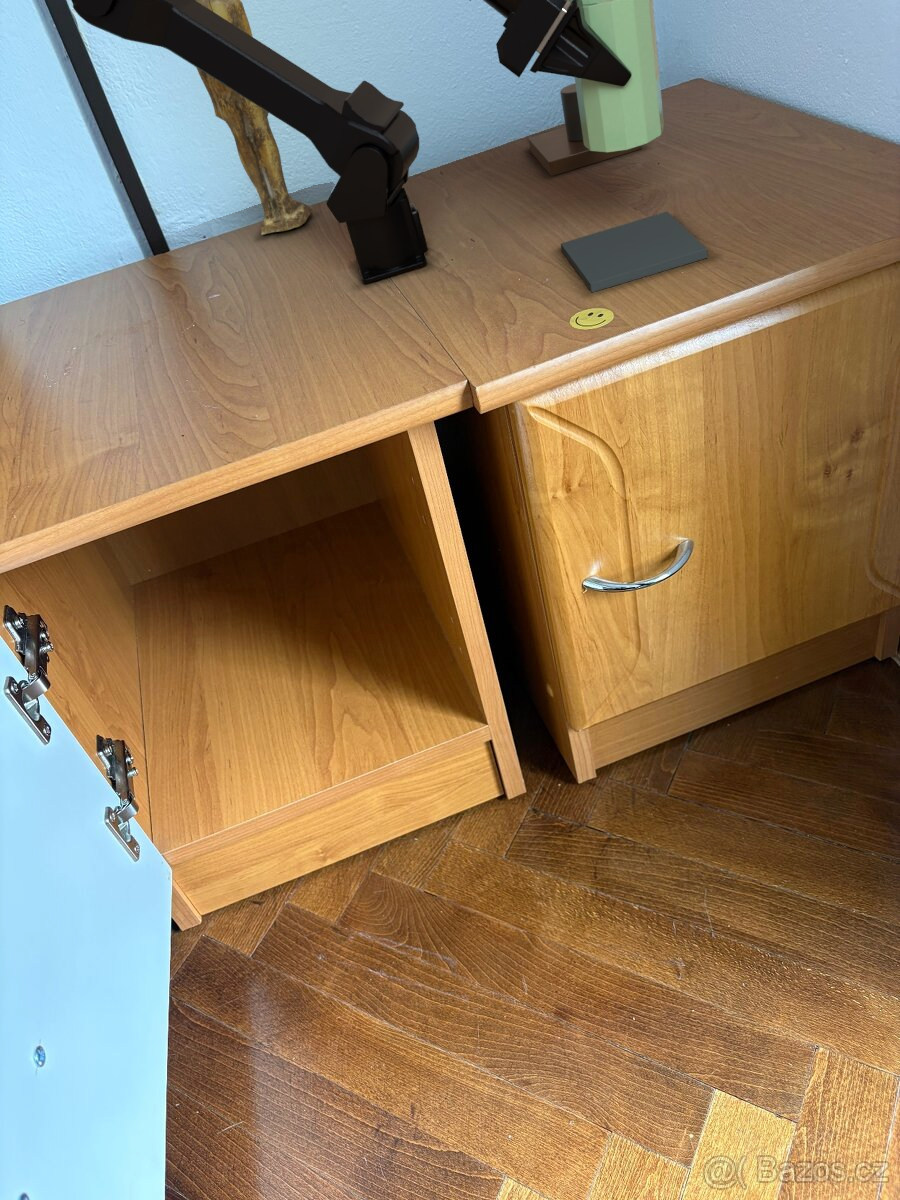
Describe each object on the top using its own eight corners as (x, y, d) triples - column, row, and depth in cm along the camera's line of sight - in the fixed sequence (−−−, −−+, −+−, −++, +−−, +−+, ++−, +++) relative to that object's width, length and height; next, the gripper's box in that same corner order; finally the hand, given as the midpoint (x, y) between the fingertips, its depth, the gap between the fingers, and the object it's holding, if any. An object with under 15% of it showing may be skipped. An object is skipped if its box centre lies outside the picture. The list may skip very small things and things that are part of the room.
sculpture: (320, 211, 116) (222, -94, 97) (309, 233, 112) (204, -84, 93) (265, 223, 118) (159, -76, 99) (252, 245, 113) (138, -65, 94)
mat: (591, 292, 84) (590, 283, 83) (561, 251, 92) (560, 243, 91) (707, 257, 84) (707, 248, 83) (668, 219, 91) (667, 211, 91)
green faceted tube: (569, 149, 87) (548, 7, 80) (619, 120, 90) (602, -19, 83) (628, 154, 83) (612, 5, 76) (679, 124, 85) (667, -23, 78)
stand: (551, 176, 107) (540, 112, 103) (530, 151, 115) (519, 91, 111) (642, 148, 107) (635, 83, 103) (614, 125, 115) (607, 64, 111)
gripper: (509, -147, 67) (692, 4, 70) (552, -182, 80) (705, -54, 84) (426, 10, 74) (595, 139, 78) (478, -46, 88) (621, 67, 91)
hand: (632, 67), depth 82 cm, fingers closed on green faceted tube, 7 cm apart
